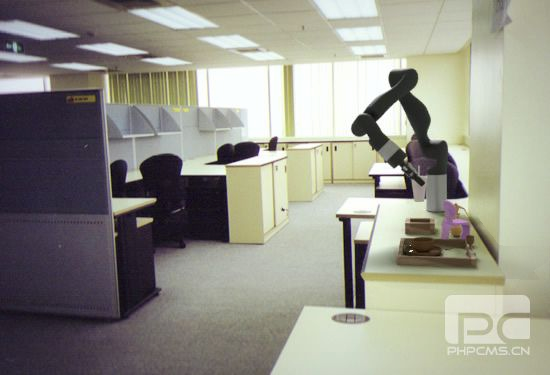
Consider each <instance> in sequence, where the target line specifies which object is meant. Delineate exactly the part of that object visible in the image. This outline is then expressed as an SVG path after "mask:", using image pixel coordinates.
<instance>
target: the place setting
mask: <svg viewBox="0 0 550 375" xmlns="http://www.w3.org/2000/svg"><path fill="white" fill-rule="evenodd" d="M412 238H413V239H412V245H411V246H404V252H405V254H406V255H407V256H430V257H438V256H439V255H441V253H443V250H445V251H447V250H452V249H453V247H450V248H449V247H448V248H445V247H442V246H436V245H434V239H433V238H434V237H433V238H432V237H430V236H429V237H427V236H420V237H419V236H418V237H417V236H416V237H412ZM466 243H467V244H468V245H469V247H472V246H473V245H474V244H475V235H471V234H470V235H467V236H466ZM472 248H473V247H472ZM410 250H413V251H412V252H409V251H410ZM465 254H466V255H467V256H468V252H467V251H466V253H465ZM474 255H476V253H475V252H474Z"/></svg>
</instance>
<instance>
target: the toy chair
mask: <svg viewBox="0 0 550 375" xmlns="http://www.w3.org/2000/svg"><path fill="white" fill-rule="evenodd" d="M454 204H455V203H453V202H452V201H450V200H448V199H447V200H445V201H444V203H443V206H444V209H445V211H444V214H446V215H445V219H442V220H443V221H442V224H441V235H440V237H439V238H441V239H450V238H449V237H450V233H451V228H452V227H453V226H457V225H459V226H460V227H461V228H462V233H461V234H460V237H459V239H466V236H467V235H471V234H470V232H471V225H470V221H467V220H464V219H461V218H460V219H458V218H454V219H453V216H455V217H456V216H457V215H456V207H455V205H454Z"/></svg>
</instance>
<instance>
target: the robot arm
mask: <svg viewBox="0 0 550 375" xmlns="http://www.w3.org/2000/svg"><path fill="white" fill-rule="evenodd" d="M387 79H388V84H389V87H390V88H389V89H388V90H386V91H385V92H382V93H380V94H379V95H378V96H376V97H375V98H373V100H372V101H371V102H370V103H369V104H368V105H367V106H366V108H365V109H364V111H363V112H362V113H360V114H358V115H357V116H356V117H355V119H354V121H353V122H352V124H351V127H350V130H351V133H352V134H353V136H355V137H358V138H360V137H361V138H362V137H364V136H366V135H367V137H368V144H369V146H370V147H371V148H372V149H373V150H375V152H377V154H378V155H379V156H380V157H381V158H382V159H383V160H384V161H385V162H386V163H387V164H388V165H389V166H390V167H391V169H396V168H398V166H399V167H400V170H401V172H402V173H404V174H405V175H406V176H407V177H409V178H410V180H411V179H412V180H415V181H416V182H417V183H418V184H419V185H420V186H421V187H422V186H423V185H424V184H425V182H424V181H423V180H422V179H421V178H420V177H419V176H418V170H417V168H415V166H413V165H412V163H410V162H409V161H406V158H407V157H408V154H407V153H406V152H405V151H404V150H403V149H402V148H401V147H400V146H399V145H398V144H396V143H395V142H394V141H393V140H392V139H390V138H389V137H388V136H387V135H386V134H385V133H384V132H383V130H382V128H381V127H380V126H379V124H378V123H377V122H378V121H379V120H380V119H381V118H382V117H383V116H384V115H385V114H386V112H387V111H388V110H389V109H390V108H391V107H392V106H393V105H395V104H396V103H397V102H399V104H400V106H401V107H402V110H403V111H404V113H405V115H406V118H407V120H408V122H409V125H410V126H411V129H412V130H413V132H414V135H415V137H416V139H417V142H418V145H419V148H420V151H421V154H422V156H423V158H424V159H425V160H429V161H431V160H432V161H433V160H434V161H436V162H435V164H433V165H431V166H429V167H426V169H425V176H427V177H428V179H427V182H426V190H425V197H426V198H425V199H426V200H425V201H426V206H425V207H426V208H425V209H426V211H428V212H434V213H435V212H437V213H438V212H439V213H440V212H445V209H444V206H443V203H444V201H445V200H448V199H447V198H448V197H447V194H448V192H447V191H448V190H447V188H448V186H447V185H448V183H447V182H448V181H447V170H448V160H449V146H448V143H447V141H446V140H443V139H430V137H429V134H428V131H429V129H430V126H431V122H432V118H431V114H430V113H429V110H428V107H427V106H426V104H424V103H423V102H422V101H421V99H419V98H418V97H416V95H414V94H413V92H411V91H413V89H415V87H417V84H418V83H419V73H418V71H417V70H416V69H415V68H414V67H413V68H412V67H400V68H399V67H397V68H393V69H392V70H390V71H389V73H388V78H387ZM412 180H411V181H412Z"/></svg>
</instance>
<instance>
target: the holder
mask: <svg viewBox="0 0 550 375" xmlns="http://www.w3.org/2000/svg"><path fill="white" fill-rule="evenodd" d="M404 234H409V235H410V234H416V235H418V234H420V235H422V234H423V235H424V234H425V235H436V221H435V217H406V218H405V222H404Z"/></svg>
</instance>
